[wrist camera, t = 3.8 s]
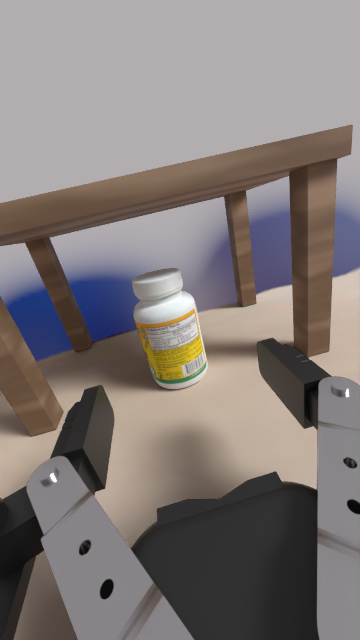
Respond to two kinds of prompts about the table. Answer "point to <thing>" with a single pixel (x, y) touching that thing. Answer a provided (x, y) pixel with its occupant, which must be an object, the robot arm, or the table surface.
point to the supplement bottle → (169, 329)
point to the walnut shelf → (166, 193)
